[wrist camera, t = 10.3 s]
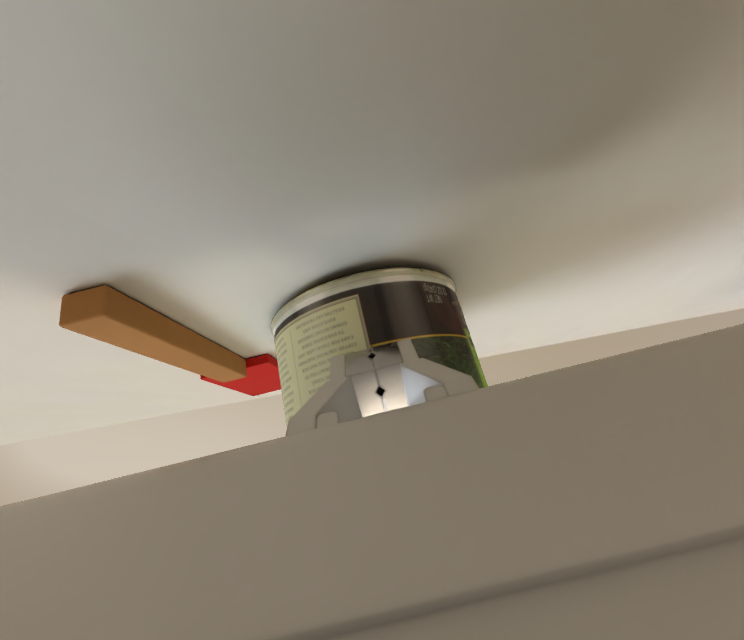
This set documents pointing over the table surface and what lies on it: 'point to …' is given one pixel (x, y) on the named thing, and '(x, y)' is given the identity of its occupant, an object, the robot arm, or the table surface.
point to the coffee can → (369, 326)
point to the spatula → (164, 340)
